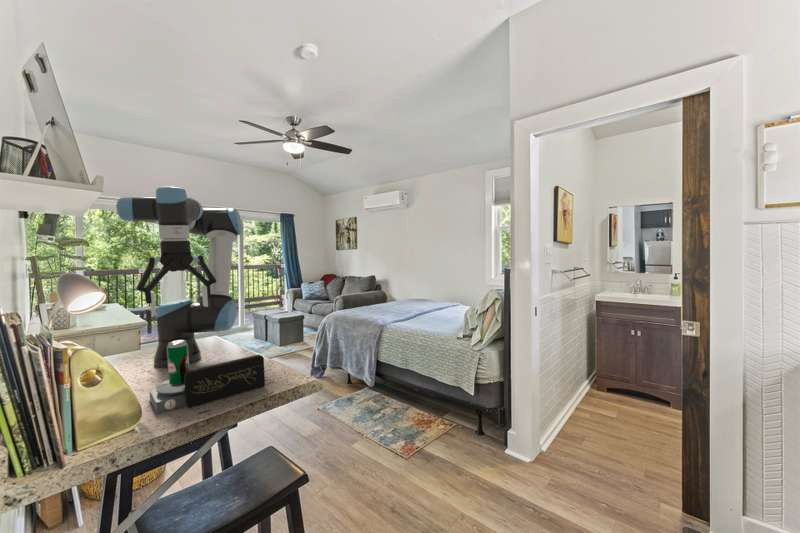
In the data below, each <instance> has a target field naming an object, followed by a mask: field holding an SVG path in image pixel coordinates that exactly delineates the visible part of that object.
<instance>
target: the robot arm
mask: <svg viewBox="0 0 800 533" xmlns="http://www.w3.org/2000/svg"><path fill="white" fill-rule="evenodd" d="M115 205H116V206H115V207H116V213H117V215H118V217H119V218H120V219H121V220H123V221H126V222H145V223H149V224H156V225H158V234H159V235H158V236H159V237H158V238H159V240H161V241H160V242H159V244H160V246H159V247H160V256H159V257H151V256H150V257H148V258H147V264H146V268H145V270H144V272H143V274H141V275H142V276H141V277H140V280H139V281H138V284H137V285H136V288H135V289H136V290H137V291H138V292H143V293H144V298H145V302H146V303H147V304H150V312H151V314H152V315H155V316H156V317H155V319H156V329H157V342H158V344H157V347H156V352H155V353H154V357H153V366H155V367H157V368H168V358H167V346H168V343H169V342H172V341H176V340H186V343H187V344H188V355H189V364H191V363H194V362H196V361H198V360H200V359H201V358H202V356H201V353H202V352H201V349H200V347H199V345H198V342H197V341H196V336H195V334H198V333H215V332H216V333H220V332H225V331H226V332H227V331H230V330H231V329H232V328H233V326H234V324H235V322H236V319H237V315H238V310H237V309H238V306H237V302H236V301H234V300H233V296H232V295H230V284H231V270H232V261H233V260H232V259H233V258H232V257H233V246H234V243H235V242H236V241H237V240H238V236H240V235H243V224H242V219H241V218H242V217H241V215H240V213H239V211H238V210H237V209H236V208H232V207H231V208H230V207H229V208H228V207H225V208H224V207H220V208H219V207H203V205H202V204H201V203H200V202H199V201H198V200H196V199H194V198H192V197H188V195H187V191H186V189H185V188H183V187H179V186H159V187H157V188H156V189H155V197H152V196H150V197H149V196H132V195H131V196H122V197H120V198H119V199H118V200H117V201H116V204H115ZM190 234H191V235H192V234H193V235H199V236H206V238H207V239H208V240H209V251H208V259H207V264H206V262H205V260H204V255H201V254H196V255H192V249H191V241H190V240H189V239H190V238H191V237H190V236H191V235H190ZM193 261H195V263H198V265H199V267H200V268H201V270H202V272H203V273H204V275H205V276H206V277H205V276H203V275H202V274H201V273H200V272H199V271H197V269H195V267H193V265H192V263H193ZM159 263H161V265H162V267H161V269H160V270H159V271H158V272H157V273H156V274H155V276H154V277H153V278H152V279H151V280H150V281H149V283H148V284H147V282H148V279H149V278H150V276H151V274H152V272H153V271H154V269H155V266H157V265H158V264H159ZM186 270H187V271H188V272H190V273H191V274H192V275H193V276H194V277H195V278H197V280H199V281H200V282H201V283H202V284H203V285H201V295H200V296H199V302H194V301H193V299H192V298H187V299H178V300H174V301H169V302H165V303H162V304H159V305H158V306H156V299H155V296H156V295H155V291H153V289H154V288H155V287H156V286H157V285H158V283H159V282H160V281H161V280H162V279H163V278H164V276H165V275H166V274H168V272H169V271H170V272H173V273H174V272H178V271H179V272H185V271H186ZM146 284H147V285H146Z"/></svg>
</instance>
